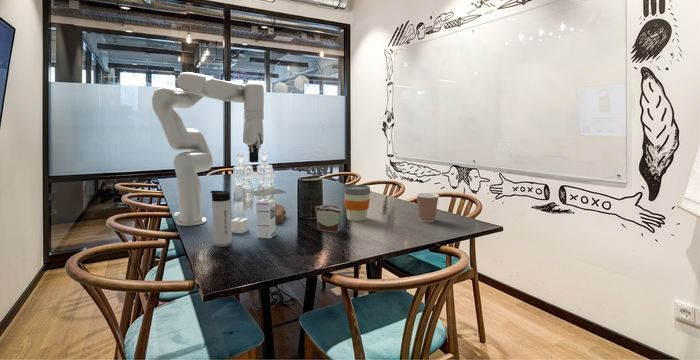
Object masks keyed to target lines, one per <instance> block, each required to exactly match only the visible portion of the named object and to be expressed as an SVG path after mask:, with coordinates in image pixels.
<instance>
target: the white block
mask: <svg viewBox="0 0 700 360" xmlns="http://www.w3.org/2000/svg"><path fill="white" fill-rule="evenodd" d="M249 230H250V228H249V218H244V217H236V218H233V219H231V233H234V234H235V233H237V234H244V233H245V232H248V231H249Z"/></svg>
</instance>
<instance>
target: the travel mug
mask: <svg viewBox="0 0 700 360" xmlns="http://www.w3.org/2000/svg"><path fill="white" fill-rule="evenodd" d="M210 194H211V208H212V209H211V210H212V231H213V234H212V235H213V246H214V247H217V248H225V247H229V246H232V244H233V234H232V233H233V232H231V220H232V215H231V213H232V211H231V210H232V209H231V208H232V207H231V194H230V192H229V191H224V190H213V189H212V190H210Z"/></svg>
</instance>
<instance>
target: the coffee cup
mask: <svg viewBox="0 0 700 360" xmlns="http://www.w3.org/2000/svg"><path fill="white" fill-rule="evenodd" d="M439 197H440V195H439V194H437V193H430V192H421V193H416V200H417V210H418V211H417V212H418V219H419V221H420V222H424V223H431V222H432V223H433V222H434V221H435V218H436V214H437V208H438V207H437V206H438V201H439Z"/></svg>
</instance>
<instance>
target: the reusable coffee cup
mask: <svg viewBox="0 0 700 360" xmlns="http://www.w3.org/2000/svg"><path fill="white" fill-rule="evenodd" d="M343 194H344V199H343V200H344V201H343V202H344V209H345V210H346V218H347V220H349V221H354V222H356V221H357V222H360V221H366V219H367V215H368V210H369V207H370V195H371V187H370V186H368V185H362V184H361V185H360V184H352V185H351V184H350V185H345V186H344V187H343Z"/></svg>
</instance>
